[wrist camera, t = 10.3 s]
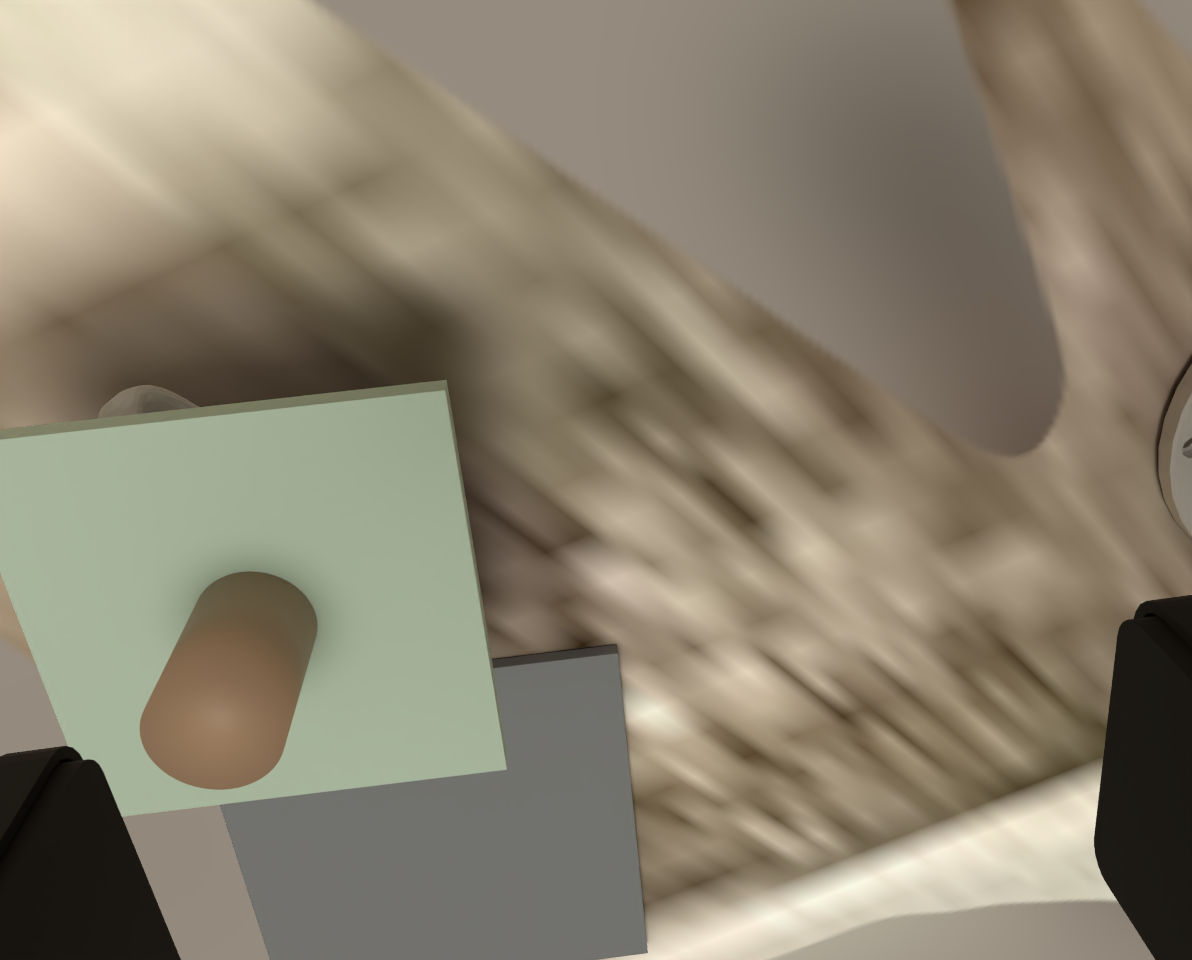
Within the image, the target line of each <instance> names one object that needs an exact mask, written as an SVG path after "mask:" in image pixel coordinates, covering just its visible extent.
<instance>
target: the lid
mask: <svg viewBox="0 0 1192 960" xmlns="http://www.w3.org/2000/svg"><path fill="white" fill-rule="evenodd" d="M0 573H1V576H2V579H3V581H4V584H5V586H6V589H7V591H8V594H9V596H10V599H11V601H12V604H13V607H14V609H15V612H16V614H17V617H18V619H19V622H20V624H21V627H22V630H23V632H24V635H25V637H26V640H27V642H28V645H29V647H30V650H31V652H32V655H33V658H34V660H35V663H36V665H37V668H38V670H39V673H40V675H41V678H42V680H43V683H44V686H45V688H46V691H47V693H48V696H49V698H50V701H51V703H52V706H53V709H54V711H55V713H56V716H57V719H58V721H59V724H60V726H61V728H62V732H63V734H64V737H65V739H66V742H67V744H68V747H73V748H74V749H75V750H76V751H77V752H79V753H80V755H81V757H82V759H83V760H86V759H91V760H95V761H96V762H97V763H98V764H99V765H100V767H101V768H102V770H103V772H104V774H105V777H106V779H107V782H108V784H109V787H110V789H111V792H112V794H113V796H114V799H115V801H116V804H117V806H118V809H119V811H120V813H121V816H130V815H139V814H147V813H155V812H163V811H171V810H180V809H188V808H196V807H204V806H213V805H221V804H229V803H237V802H245V801H254V800H262V799H270V798H278V797H286V796H295V795H303V794H311V793H319V792H327V791H336V790H344V789H352V788H360V787H368V786H377V785H385V784H393V783H401V782H410V781H418V780H426V779H434V778H442V777H451V776H459V775H467V774H475V773H483V772H492V771H500V770H507V750H506V744H505V738H504V732H503V726H502V719H501V713H500V707H499V701H498V695H497V688H496V682H495V676H494V670H493V664H492V657H491V651H490V645H489V639H488V633H487V626H486V620H485V614H484V608H483V602H482V595H481V589H480V583H479V577H478V571H477V564H476V558H475V552H474V546H473V540H472V533H471V527H470V521H469V515H468V509H467V503H466V496H465V490H464V484H463V478H462V472H461V465H460V459H459V453H458V447H457V441H456V434H455V428H454V422H453V416H452V410H451V403H450V397H449V391H448V385H447V380H440V381H431V382H422V383H413V384H404V385H395V386H386V387H377V388H368V389H359V390H350V391H341V392H332V393H323V394H314V395H305V396H296V397H287V398H278V399H269V400H260V401H251V402H242V403H233V404H224V405H215V406H206V407H197V408H188V409H179V410H170V411H161V412H152V413H143V414H134V415H125V416H116V417H107V418H98V419H89V420H80V421H71V422H62V423H53V424H44V425H35V426H26V427H17V428H8V429H0Z"/></svg>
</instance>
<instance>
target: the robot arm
mask: <svg viewBox="0 0 1192 960" xmlns="http://www.w3.org/2000/svg"><path fill="white" fill-rule="evenodd" d="M1159 479H1160V483H1161V487H1162V492H1163V496H1164V500H1165V502H1166V504H1167V506H1168V508H1169V510H1170V512H1171V514H1172V516H1173V518H1174V520H1175V521H1176V523H1177V524H1178V525H1179V526H1180V527H1181V528H1182V529H1183V530H1184V531H1185V533H1186V534H1187V535H1188V536H1189V537H1190V538H1191V539H1192V364H1191V365H1190V367H1189V369H1188V370H1187V372H1186V374H1185V375H1184V377H1183V379H1182V380H1181V382H1180V384H1179V385H1178V387H1177V389H1176V391H1175V394H1174V396H1173V399H1172V401H1171V404H1170V406H1169V409H1168V411H1167V414H1166V416H1165V419H1164V424H1163V429H1162V434H1161V438H1160V443H1159ZM1094 848H1095V855H1096V859H1097V862H1098V866H1099V869H1100V871H1101V874H1102V876H1103V878H1104V880H1105V881H1106V883H1107V885H1108V887H1109V888H1110V890H1111V891H1112V893H1113V894H1114V896H1115V897H1116V899H1117V901H1118V902H1119V904H1120V905H1121V907H1122V908H1123V910H1124V911H1125V913H1126V914H1127V916H1128V917H1129V919H1130V921H1131V922H1132V924H1133V925H1134V927H1135V928H1136V930H1137V931H1138V933H1139V935H1140V936H1141V938H1142V940H1143V941H1144V942H1145V944H1146V946H1147V947H1148V949H1149V950H1150V952H1151V954H1152V955H1153V957H1154V958H1155V960H1192V595H1188V596H1181V597H1173V598H1166V599H1158V600H1151V601H1146V602H1144V603H1142V604H1140V606H1139V607H1138V609H1137V610H1136V612H1135V616H1134V619H1131V620H1126V621H1124V622H1123V623H1122V624H1121V626H1120V627H1119V631H1118V636H1117V644H1116V653H1115V662H1114V670H1113V679H1112V688H1111V696H1110V705H1109V714H1108V722H1107V731H1106V740H1105V749H1104V757H1103V766H1102V775H1101V783H1100V792H1099V801H1098V809H1097V818H1096V827H1095V835H1094ZM0 960H181V959H180V957H179V954H178V952H177V949H176V947H175V945H174V942H173V940H172V937H171V935H170V932H169V930H168V928H167V925H166V923H165V921H164V918H163V916H162V913H161V911H160V908H159V906H158V903H157V901H156V899H155V896H154V894H153V891H152V889H151V886H150V884H149V882H148V879H147V877H146V874H145V872H144V869H143V867H142V864H141V862H140V860H139V857H138V855H137V852H136V850H135V847H134V845H133V843H132V840H131V838H130V835H129V833H128V831H127V828H126V826H125V823H124V821H123V818H122V816H121V813H120V811H119V809H118V806H117V804H116V801H115V799H114V796H113V794H112V792H111V789H110V787H109V784H108V782H107V779H106V777H105V774H104V772H103V770H102V768H101V767H100V765H99V764H98V763H97V762H96V761H95V760H91V759H86V760H83V759H82V757H81V755H80V753H79V752H77V751H76V750H75V749H74V748H73V747H68V746H62V747H54V748H47V749H39V750H32V751H25V752H17V753H9V754H5V755H3V756H0Z"/></svg>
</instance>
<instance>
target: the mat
mask: <svg viewBox="0 0 1192 960" xmlns="http://www.w3.org/2000/svg"><path fill="white" fill-rule="evenodd" d="M492 664H493V670H494V676H495V682H496V688H497V695H498V701H499V707H500V713H501V719H502V726H503V732H504V738H505V744H506V750H507V770H500V771H492V772H483V773H475V774H467V775H459V776H451V777H442V778H434V779H426V780H418V781H410V782H401V783H393V784H385V785H377V786H368V787H360V788H352V789H344V790H336V791H327V792H319V793H311V794H303V795H295V796H286V797H278V798H270V799H262V800H254V801H245V802H237V803H229V804H221V805H220V807H221V810H222V813H223V816H224V819H225V822H226V825H227V829H228V832H229V834H230V838H231V840H232V844H233V847H234V850H235V853H236V856H237V859H238V862H239V866H240V869H241V872H242V875H243V878H244V881H245V884H246V887H247V890H248V893H249V896H250V899H251V902H252V906H253V909H254V911H255V915H256V918H257V921H258V924H259V927H260V930H261V933H262V936H263V940H264V943H265V946H266V949H267V952H268V955H269V958H270V960H597V959H605V958H613V957H620V956H628V955H636V954H644V953H648V951H647V941H646V931H645V921H644V911H643V901H642V891H641V881H640V871H639V861H638V851H637V841H636V830H635V820H634V810H633V800H632V790H631V780H630V770H629V760H628V750H627V740H626V730H625V720H624V710H623V700H622V690H621V680H620V670H619V660H618V651H617V645H609V646H601V647H593V648H584V649H576V650H568V651H560V652H551V653H543V654H535V655H526V656H518V657H510V658H501V659H493V660H492Z"/></svg>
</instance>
